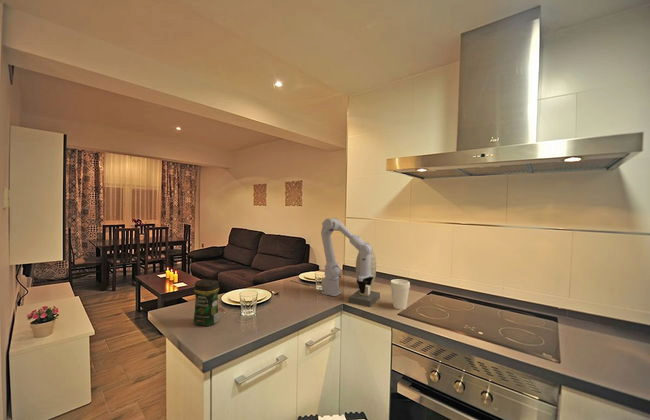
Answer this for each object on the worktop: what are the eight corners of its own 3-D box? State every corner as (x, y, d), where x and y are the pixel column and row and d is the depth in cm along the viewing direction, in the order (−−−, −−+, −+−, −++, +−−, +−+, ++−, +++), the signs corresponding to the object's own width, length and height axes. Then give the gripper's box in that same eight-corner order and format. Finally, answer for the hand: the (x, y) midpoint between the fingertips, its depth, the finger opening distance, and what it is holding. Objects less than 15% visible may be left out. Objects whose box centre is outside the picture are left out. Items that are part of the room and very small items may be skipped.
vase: (352, 285, 173) (353, 241, 173) (370, 283, 177) (370, 241, 177) (360, 291, 161) (361, 244, 161) (379, 289, 165) (380, 244, 164)
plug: (359, 300, 146) (359, 285, 145) (361, 298, 149) (362, 284, 148) (367, 301, 143) (368, 287, 143) (370, 300, 146) (370, 285, 146)
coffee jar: (190, 325, 112) (190, 281, 112) (203, 317, 120) (203, 276, 120) (209, 328, 110) (210, 283, 110) (221, 320, 118) (222, 278, 117)
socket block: (348, 302, 142) (348, 296, 142) (360, 294, 156) (360, 289, 156) (370, 306, 136) (370, 301, 136) (380, 297, 150) (380, 292, 150)
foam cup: (402, 312, 130) (402, 285, 130) (386, 306, 137) (387, 281, 137) (412, 307, 136) (413, 282, 136) (397, 302, 143) (398, 278, 143)
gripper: (367, 270, 137) (367, 296, 138) (376, 264, 150) (376, 289, 150) (354, 268, 141) (354, 294, 141) (364, 263, 153) (364, 287, 154)
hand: (364, 291), depth 146 cm, fingers open, 7 cm apart
